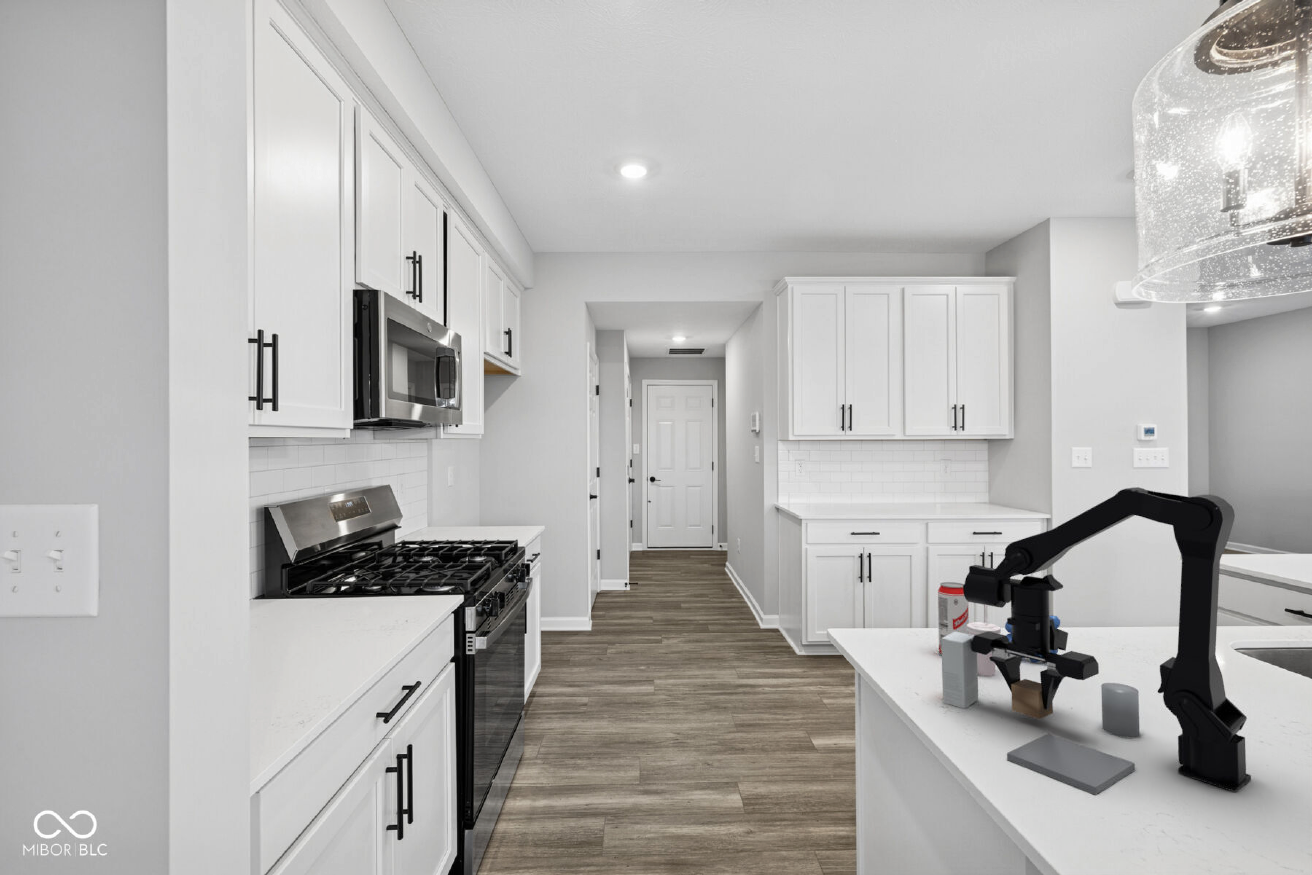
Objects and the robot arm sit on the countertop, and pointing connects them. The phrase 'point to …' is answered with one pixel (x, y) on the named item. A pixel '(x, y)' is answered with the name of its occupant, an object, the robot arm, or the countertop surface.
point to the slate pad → (1071, 763)
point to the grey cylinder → (1120, 710)
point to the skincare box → (959, 670)
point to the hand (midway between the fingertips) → (1032, 704)
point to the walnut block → (1029, 699)
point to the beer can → (952, 610)
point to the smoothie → (983, 660)
